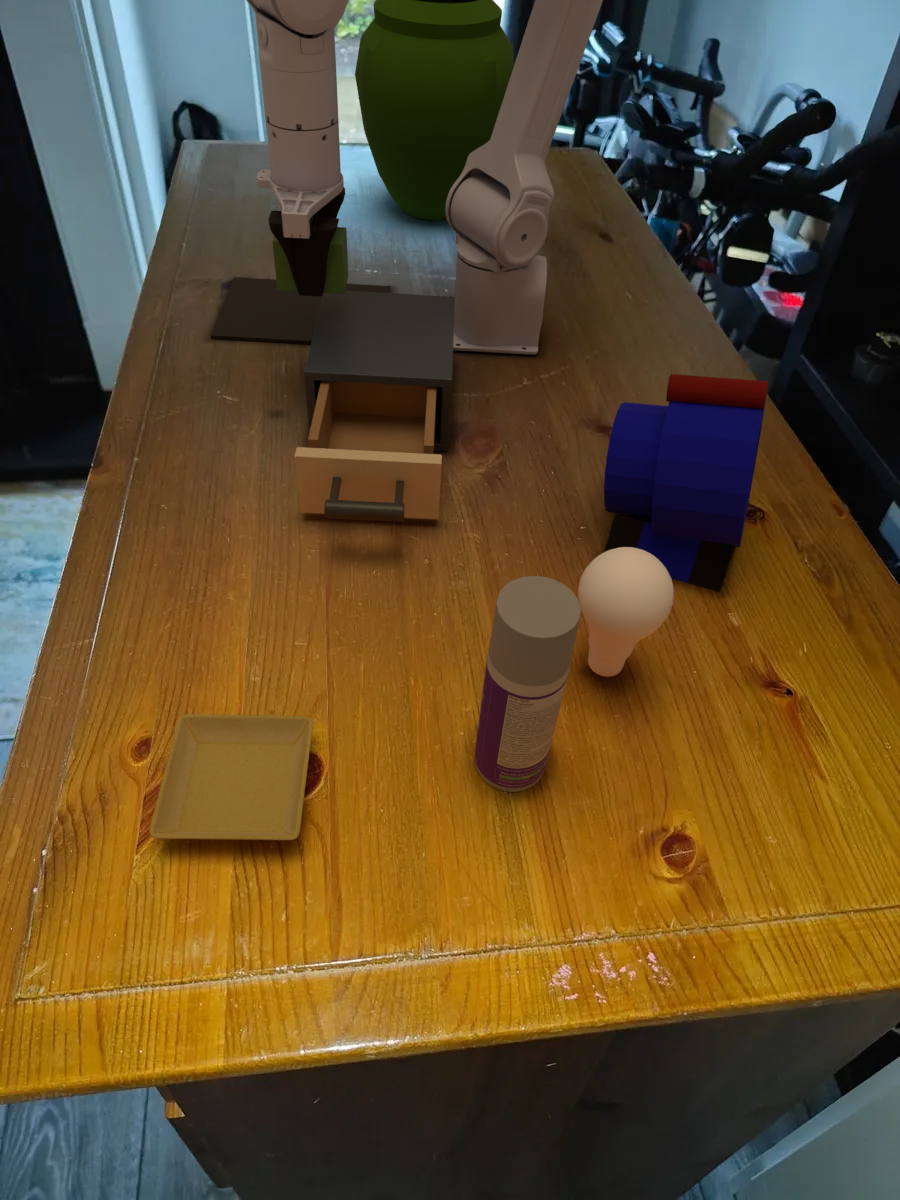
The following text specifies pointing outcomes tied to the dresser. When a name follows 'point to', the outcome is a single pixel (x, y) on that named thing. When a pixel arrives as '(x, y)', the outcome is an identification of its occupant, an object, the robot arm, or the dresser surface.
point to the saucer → (234, 778)
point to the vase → (430, 93)
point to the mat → (271, 312)
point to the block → (334, 271)
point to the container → (525, 680)
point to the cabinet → (385, 346)
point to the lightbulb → (622, 604)
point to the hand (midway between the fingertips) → (313, 283)
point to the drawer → (371, 453)
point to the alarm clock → (686, 474)
